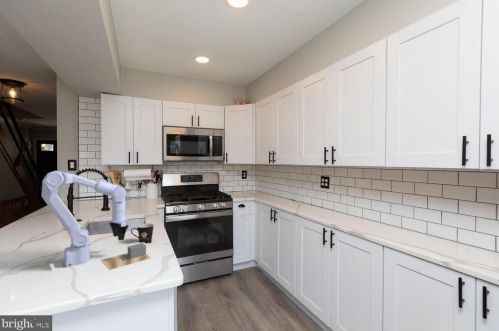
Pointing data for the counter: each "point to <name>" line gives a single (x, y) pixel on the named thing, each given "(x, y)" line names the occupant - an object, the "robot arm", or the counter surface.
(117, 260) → the oak board
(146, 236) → the coffee mug
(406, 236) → the counter surface
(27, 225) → the counter surface
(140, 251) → the sanding block
